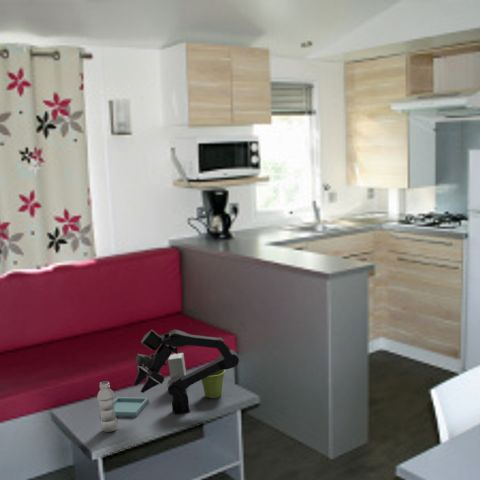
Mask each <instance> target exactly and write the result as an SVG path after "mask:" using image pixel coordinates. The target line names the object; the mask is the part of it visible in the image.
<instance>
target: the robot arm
mask: <svg viewBox="0 0 480 480" xmlns="http://www.w3.org/2000/svg"><path fill="white" fill-rule="evenodd" d="M140 344H141V345H143V346H145V347H147V348H148V349H149V350H150V351H155V353H154V354H153V353H151V354H150V355H149V356H148V355H146V354H140V353H137V356H136V358H135V362H136V364H137V365H136V366H137V367H136V368H137V374H136V377H135V380H134V382H133V385H134V386H135V387H136V386H138V385H139V384H141V383H142V382H143V381H144V380H145V379H146V381H145V382H144V384H143V386H142V387H141V389H140V393H142V394H144V393H145V392H147V391H148V390H151V389H153V388H154V387H156V386H158V385H162V384H163V383H164V381H165V377H164V375H162V374H161V373H162V371H161V370H162V368H163V367H166V366H167V363H166V362H167V361H168V359H169V357H170V355H171V354H178V353H179V352H178V351H179V350H178V348H183V347H187V346H193V347H204V348H210V349H211V348H212V349H217V350H218V352H219V353H220V355H219V356H218V357H217V358H216V359H215V360H213V361H211V362H209V363H208V364H205V365H204V366H201V367H199V368H197V369H195V370H194V371H192V372H190V373H188V374H186V375H185V376H180V373H179V374H177V375H176V376H174V377H171V376H170V379H168V381H167V384H166V387H167V392H168V395H169V396H171V397H172V399H171V401H170V403H171V410H172V412H173V413H174V415H178V414H185V413H190V412H191V409H190V404H189V396H188V392H187V390H188V388H189V387H190V386H192V385H194V384H196V383H198V382H200V381H202V379H204V378H206V377H208V376H210V375H212V374H214V373H216V372H218V371H220V370H225V371H226V370H230V369H233V368H236V367H237V366H238V365H239V363H240V360H239V357H238V354H237V352H236V351H235V350H233V349H231V348H230V347H229V346H228V344H226V342H225V341H224V339H223V338H222V337H220V336H218V337H214V336H205V335H197V334H196V335H195V334H190V333H187V332H185V331H182V330H178V329H172V330H170V331H169V332H167V333H164V334H160V335H159V334H158V333H157V332H155V331H154V329H150V331H148V332H147V333H145V335H144V336H143V337H142V339H141V341H140ZM186 389H187V390H186Z"/></svg>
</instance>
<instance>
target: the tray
mask: <svg viewBox="0 0 480 480" xmlns="http://www.w3.org/2000/svg"><path fill="white" fill-rule="evenodd" d="M149 401H150V400H149V397H127V396H125V397H124V396H122V397H121V396H118V397H116V398H114V410H115V415H116V418H137V417H138V416H139V415H140V413H142V411H143V410H144V409H145V407H146V406H147V405H148V404H149V403H150V402H149Z"/></svg>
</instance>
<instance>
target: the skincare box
mask: <svg viewBox="0 0 480 480" xmlns="http://www.w3.org/2000/svg"><path fill="white" fill-rule="evenodd" d="M184 355H185V354H184V352H180V353H179V352H178V354H176V353H172V354H171V355H170V357H169V358H168V360H167V361H168V363H167V364H168V368H169V369H168V370H169V374H170V378H171V377H174V376H176V375H177V374H179V373H180V376H185V375H187V370H186V363H185V356H184ZM187 390H188V388H187V389H186V391H187Z"/></svg>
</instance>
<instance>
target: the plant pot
mask: <svg viewBox="0 0 480 480" xmlns="http://www.w3.org/2000/svg"><path fill="white" fill-rule="evenodd" d="M225 372H226V370H220V371H218V372H216V373H214V374H212V375H210V376H208V377H206V378H204V379H202V380H201V383H202V387H203V392H204V396H205V398H209V399H217V398H219V397H220V396H222V393H223V382H224V375H225Z"/></svg>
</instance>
